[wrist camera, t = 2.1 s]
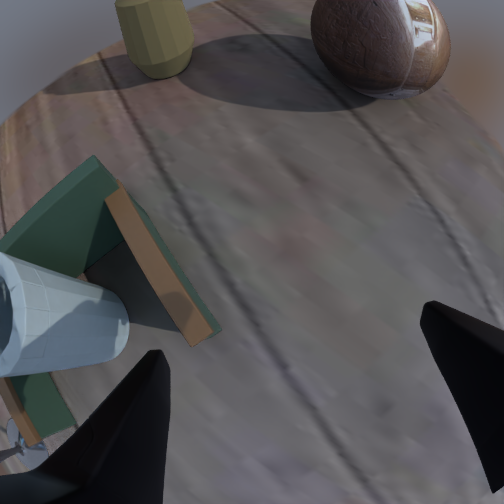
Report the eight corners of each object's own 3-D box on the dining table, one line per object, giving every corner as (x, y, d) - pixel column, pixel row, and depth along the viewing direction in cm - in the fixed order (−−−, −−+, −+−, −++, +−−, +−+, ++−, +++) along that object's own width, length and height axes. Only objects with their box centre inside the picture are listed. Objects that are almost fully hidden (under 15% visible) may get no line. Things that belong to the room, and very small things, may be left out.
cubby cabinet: (226, 330, 23) (202, 333, 13) (70, 429, 21) (4, 456, 11) (146, 209, 26) (96, 151, 16) (15, 319, 23) (-53, 308, 14)
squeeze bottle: (212, 61, 30) (191, -67, 13) (157, 95, 29) (107, -35, 12) (176, 41, 32) (149, -66, 14) (127, 71, 31) (80, -36, 13)
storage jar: (129, 366, 22) (28, 390, 10) (68, 356, 23) (-38, 362, 10) (130, 287, 24) (31, 250, 11) (69, 285, 24) (-33, 252, 12)
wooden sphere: (353, 142, 27) (405, 23, 12) (280, 55, 30) (286, -49, 16) (441, 112, 28) (496, 31, 14) (370, 39, 32) (395, -41, 17)
